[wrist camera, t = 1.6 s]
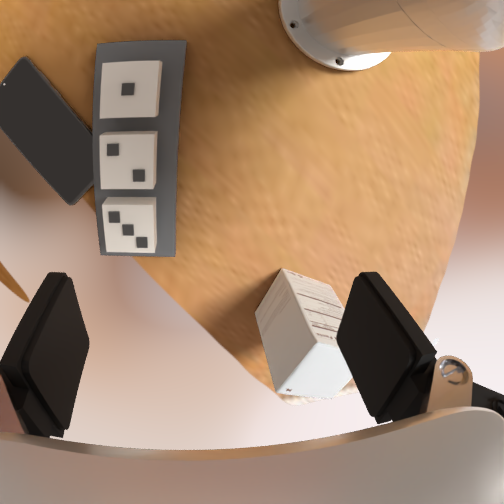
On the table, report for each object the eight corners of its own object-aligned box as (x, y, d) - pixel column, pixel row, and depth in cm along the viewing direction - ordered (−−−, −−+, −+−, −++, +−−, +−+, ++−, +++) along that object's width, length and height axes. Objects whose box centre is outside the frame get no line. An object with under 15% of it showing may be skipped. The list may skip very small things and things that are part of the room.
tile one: (109, 64, 21) (101, 62, 19) (162, 62, 22) (159, 60, 20) (106, 116, 23) (98, 118, 21) (158, 114, 24) (154, 117, 22)
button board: (101, 45, 22) (97, 43, 21) (187, 42, 24) (186, 40, 22) (104, 248, 32) (100, 255, 31) (175, 249, 33) (175, 256, 32)
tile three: (107, 196, 27) (101, 205, 25) (156, 197, 28) (152, 205, 26) (111, 241, 29) (106, 252, 27) (156, 242, 30) (154, 254, 28)
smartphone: (70, 209, 29) (-18, 107, 21) (74, 205, 30) (-12, 106, 22) (118, 161, 27) (23, 52, 20) (120, 158, 28) (28, 52, 20)
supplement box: (301, 326, 42) (331, 401, 31) (252, 312, 39) (273, 394, 28) (331, 283, 39) (374, 356, 28) (282, 265, 37) (316, 343, 26)
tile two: (106, 131, 24) (98, 135, 22) (157, 131, 25) (154, 134, 23) (107, 182, 26) (100, 189, 24) (156, 182, 27) (152, 190, 25)
